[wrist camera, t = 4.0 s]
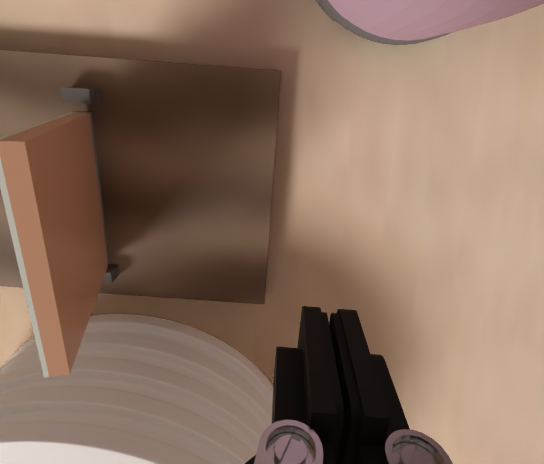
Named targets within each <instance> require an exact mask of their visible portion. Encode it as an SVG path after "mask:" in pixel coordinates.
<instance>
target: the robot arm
mask: <svg viewBox="0 0 544 464" xmlns="http://www.w3.org/2000/svg"><path fill="white" fill-rule="evenodd" d="M245 464H453V463H452V461H451V460H450V458H449V456H448V455H447V453H446V452H445V451H444V449H443V448H442V447H441V446H440V445H439V444H438V443H437V442H436V441H434V440H433V439H432V438H430V437H428V436H427V435H425V434H423V433H421V432H418V431H415V430H410V429H409V426H408V423H407V421H406V418H405V415H404V412H403V409H402V407H401V404H400V401H399V398H398V396H397V393H396V390H395V387H394V385H393V382H392V379H391V376H390V374H389V371H388V368H387V365H386V362H385V360H384V358H383V356H381V355H374V354H370V352H369V349H368V345H367V342H366V339H365V336H364V333H363V330H362V326H361V323H360V320H359V317H358V314H357V311H356V310H345V309H338V311H337V313H331V316H330V322H328V317H327V313H324V312H321V309H320V308H319V307H307V306H303V307H302V314H301V322H300V331H299V339H298V348H287V347H277V348H276V358H275V370H274V384H273V404H272V424H271V425H269V426H268V427H267V428H266V430H265V431H264V432H263V434H262V436H261V438H260V441H259V445H258V449H257V453H256V455H255V456H253V457H252V458H251V459H250V460H248V461H247V462H246V463H245Z"/></svg>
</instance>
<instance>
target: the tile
mask: <svg viewBox="0 0 544 464" xmlns="http://www.w3.org/2000/svg"><path fill="white" fill-rule="evenodd" d="M0 189H1V193H2V198H3V202H4V206H5V211H6V215H7V219H8V224H9V228H10V232H11V237H12V241H13V245H14V250H15V254H16V258H17V263H18V267H19V271H20V276H21V280H22V284H23V289H24V293H25V297H26V302H27V306H28V310H29V315H30V319H31V323H32V328H33V332H34V336H35V341H36V345H37V349H38V353H39V358H40V362H41V366H42V371H43V375H44V377H53V376H61V375H70V372H71V370H72V367H73V364H74V361H75V358H76V355H77V353H78V350H79V347H80V344H81V341H82V338H83V336H84V333H85V330H86V327H87V324H88V321H89V319H90V316H91V313H92V310H93V307H94V304H95V302H96V299H97V296H98V293H99V290H100V287H101V285H102V282H103V279H104V276H105V273H106V270H107V268H108V263H109V262H110V261H109V252H108V244H107V236H106V227H105V219H104V211H103V202H102V194H101V185H100V177H99V169H98V160H97V152H96V144H95V135H94V127H93V119H92V112H91V111H73V112H69V113H66V114H63V115H61V116H58V117H55V118H52V119H49V120H47V121H44V122H41V123H38V124H35V125H32V126H30V127H27V128H24V129H21V130H18V131H16V132H13V133H10V134H7V135H4V136H1V137H0Z"/></svg>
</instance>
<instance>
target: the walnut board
mask: <svg viewBox="0 0 544 464" xmlns="http://www.w3.org/2000/svg"><path fill="white" fill-rule="evenodd" d="M280 77H281V71H278V70H265V69H251V68H238V67H224V66H211V65H197V64H184V63H170V62H157V61H143V60H130V59H116V58H103V57H89V56H76V55H62V54H49V53H35V52H22V51H9V50H0V137H1V136H4V135H7V134H10V133H13V132H16V131H18V130H21V129H24V128H27V127H30V126H32V125H35V124H38V123H41V122H44V121H47V120H49V119H52V118H55V117H58V116H61V115H63V114H66V113H69V112H73V111H91V112H92V119H93V127H94V135H95V144H96V152H97V160H98V169H99V177H100V185H101V194H102V202H103V211H104V219H105V227H106V236H107V244H108V252H109V261H110V262H109V263H108V268H107V270H106V273H105V276H104V279H103V282H102V285H101V287H100V290H99V293H108V294H123V295H137V296H152V297H166V298H181V299H195V300H210V301H224V302H239V303H253V304H264V302H265V288H266V274H267V260H268V246H269V231H270V217H271V203H272V189H273V175H274V161H275V147H276V133H277V119H278V105H279V91H280ZM0 286H7V287H21V288H23V284H22V280H21V276H20V271H19V267H18V263H17V258H16V254H15V250H14V245H13V241H12V237H11V232H10V228H9V224H8V219H7V215H6V211H5V206H4V202H3V198H2V193H1V189H0Z"/></svg>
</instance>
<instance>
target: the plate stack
mask: <svg viewBox="0 0 544 464" xmlns="http://www.w3.org/2000/svg"><path fill="white" fill-rule="evenodd" d="M272 404H273V386H272V384H271V383H270V382H269V380H268V379H267V378H266V377H265V375H264V374H263V373H262V372H261V371H260V370H259V369H258V368H257V367H256V366H255V365H254V364H253V363H252V362H251V361H250V360H249V359H247V358H246V357H245V356H244V355H242V354H241V353H240V352H238V351H237V350H236V349H234V348H233V347H231V346H230V345H228V344H226V343H225V342H223V341H221V340H219V339H218V338H216V337H214V336H212V335H210V334H207V333H205V332H203V331H201V330H198V329H196V328H193V327H190V326H188V325H184V324H181V323H178V322H174V321H171V320H166V319H162V318H157V317H151V316H144V315H134V314H103V315H94V316H90V319H89V321H88V324H87V327H86V330H85V333H84V336H83V338H82V341H81V344H80V347H79V350H78V353H77V355H76V358H75V361H74V364H73V367H72V370H71V372H70V375H61V376H53V377H44V375H43V371H42V366H41V362H40V358H39V353H38V349H37V345H36V341H35V336H34V337H32V338H31V339H30V340H28V341H27V342H26V343H24V344H23V345H22V346H21V347H20V348H19V349H18V350H17V351H16V352H15V353H14V354H13V355H12V356H11V357H10V358H9V359H8V360H7V361H6V363H5V364H4V365H3V366H2V367H1V368H0V464H245V463H246V462H247V461H248V460H250V459H251V458H252V457H253V456H255V455H256V453H257V449H258V445H259V441H260V438H261V436H262V434H263V432H264V431H265V430H266V428H267V427H268V426H269V425H271V424H272Z"/></svg>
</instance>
